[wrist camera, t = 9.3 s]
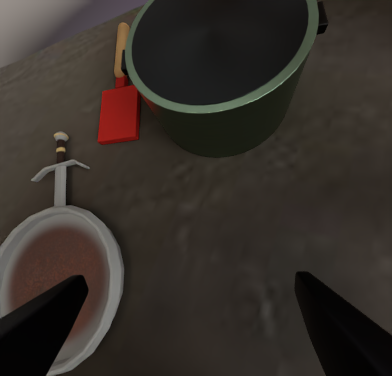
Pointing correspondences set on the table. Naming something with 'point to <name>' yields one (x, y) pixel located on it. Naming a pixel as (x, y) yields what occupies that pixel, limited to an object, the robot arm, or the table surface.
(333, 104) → the table surface
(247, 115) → the cooking pot
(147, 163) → the table surface
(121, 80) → the spatula
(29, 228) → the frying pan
